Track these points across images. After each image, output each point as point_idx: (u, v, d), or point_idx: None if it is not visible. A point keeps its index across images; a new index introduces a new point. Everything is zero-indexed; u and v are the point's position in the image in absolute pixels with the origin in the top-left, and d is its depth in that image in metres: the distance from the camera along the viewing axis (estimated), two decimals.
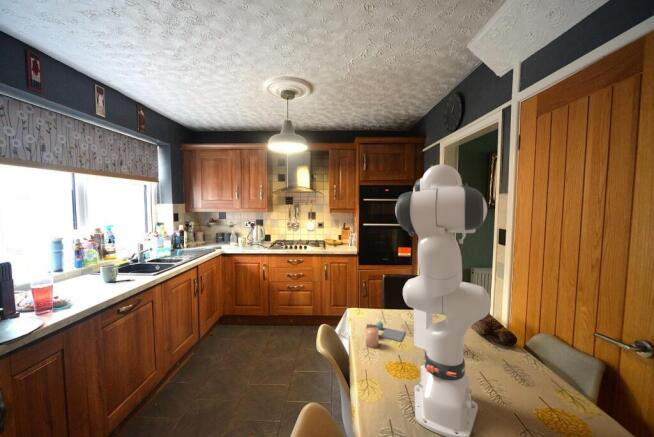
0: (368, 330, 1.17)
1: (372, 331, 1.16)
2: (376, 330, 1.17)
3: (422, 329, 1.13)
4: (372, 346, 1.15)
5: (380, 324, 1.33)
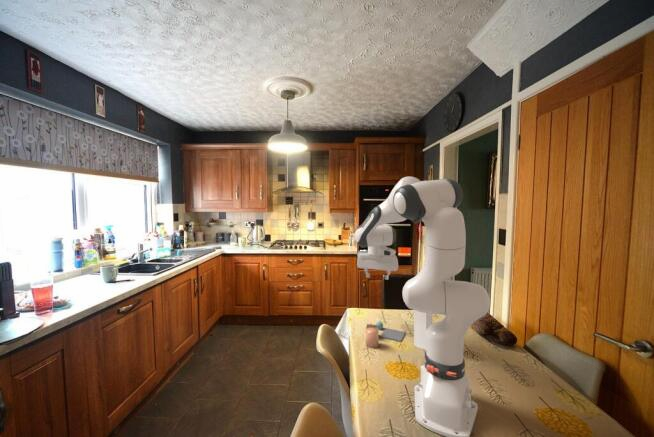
0: (368, 330, 1.17)
1: (372, 331, 1.16)
2: (376, 330, 1.17)
3: (422, 329, 1.13)
4: (372, 346, 1.15)
5: (380, 324, 1.33)
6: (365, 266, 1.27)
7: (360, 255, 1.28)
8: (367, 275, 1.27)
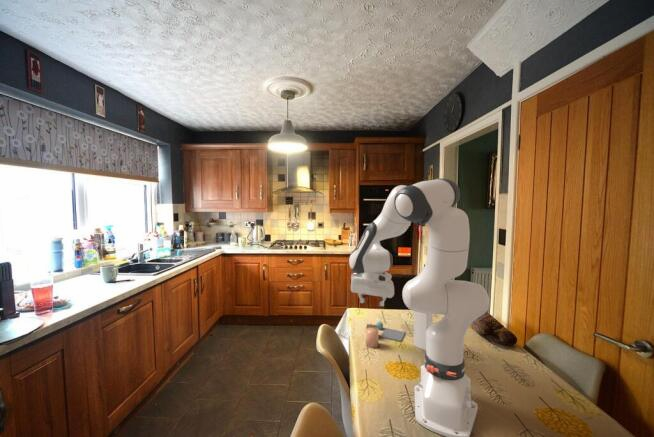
0: (368, 330, 1.17)
1: (372, 331, 1.16)
2: (376, 330, 1.17)
3: (422, 329, 1.13)
4: (372, 346, 1.15)
5: (380, 324, 1.33)
6: (359, 291, 1.18)
7: (354, 279, 1.19)
8: (361, 300, 1.19)
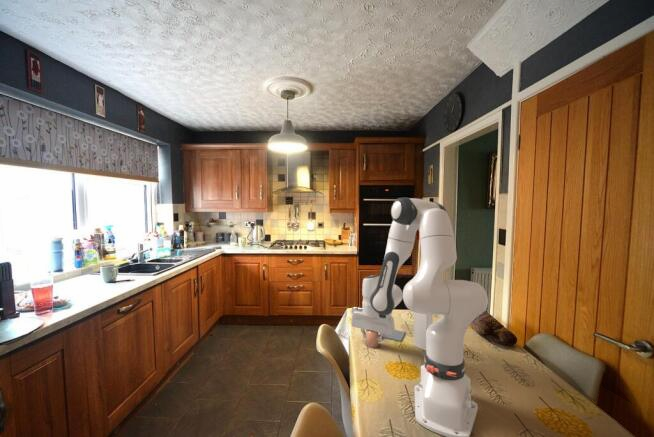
0: (368, 330, 1.17)
1: (372, 331, 1.16)
2: None
3: (422, 329, 1.13)
4: (372, 346, 1.15)
5: None
6: (359, 326, 1.18)
7: (354, 313, 1.20)
8: (364, 336, 1.18)
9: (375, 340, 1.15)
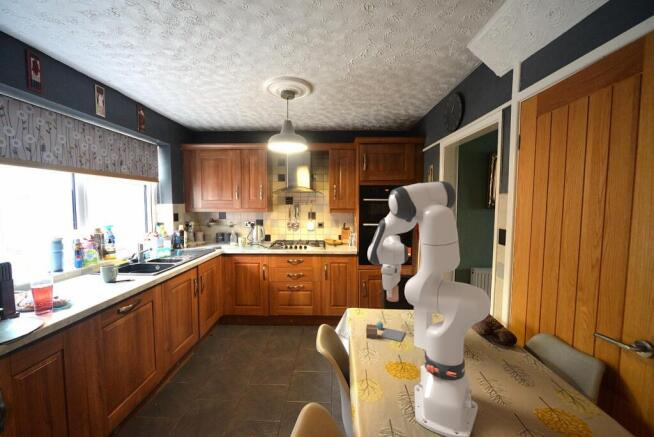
0: None
1: None
2: None
3: (422, 329, 1.13)
4: None
5: (380, 324, 1.33)
6: None
7: None
8: None
9: (387, 293, 1.26)
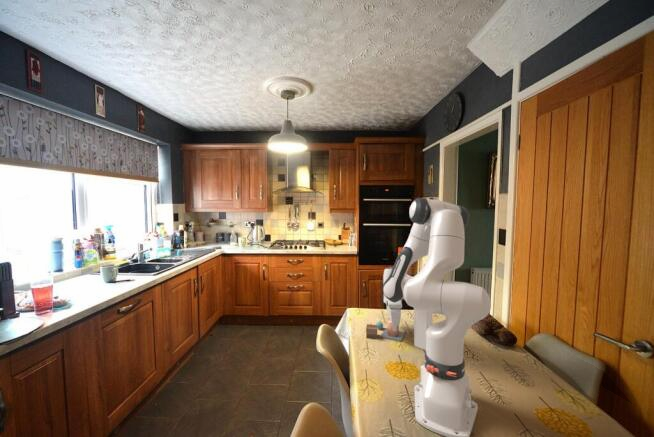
0: None
1: (390, 320, 1.26)
2: None
3: (422, 329, 1.13)
4: (388, 333, 1.26)
5: (380, 324, 1.33)
6: (387, 310, 1.32)
7: None
8: None
9: (389, 328, 1.25)
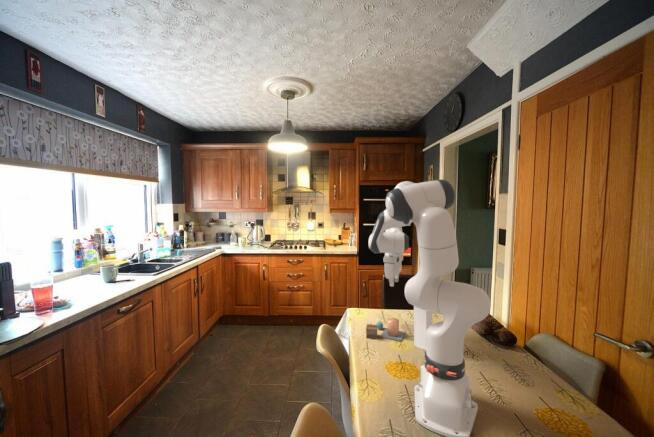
0: (390, 318, 1.28)
1: (390, 320, 1.26)
2: (394, 321, 1.25)
3: (422, 329, 1.13)
4: (388, 333, 1.26)
5: (380, 324, 1.33)
6: None
7: None
8: None
9: (389, 328, 1.25)
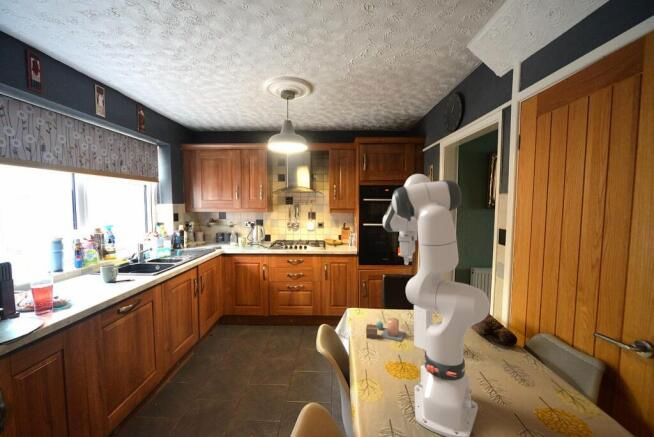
0: (390, 318, 1.28)
1: (390, 320, 1.26)
2: (394, 321, 1.25)
3: (422, 329, 1.13)
4: (388, 333, 1.26)
5: (380, 324, 1.33)
6: None
7: None
8: None
9: (389, 328, 1.25)
